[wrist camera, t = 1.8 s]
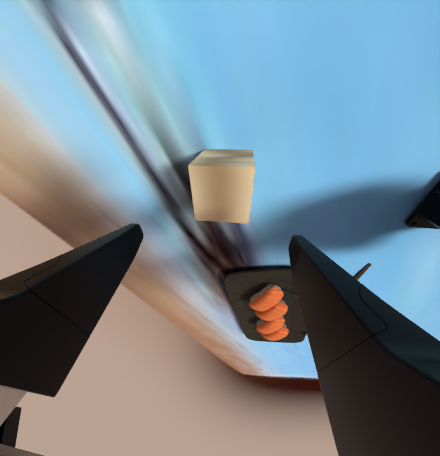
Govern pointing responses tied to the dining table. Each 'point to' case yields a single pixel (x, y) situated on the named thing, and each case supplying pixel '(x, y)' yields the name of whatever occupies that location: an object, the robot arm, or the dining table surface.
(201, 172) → the birch block
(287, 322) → the sushi plate
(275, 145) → the dining table surface
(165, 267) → the dining table surface
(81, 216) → the dining table surface
